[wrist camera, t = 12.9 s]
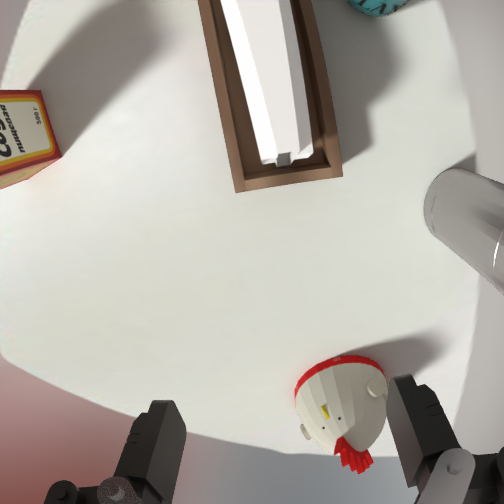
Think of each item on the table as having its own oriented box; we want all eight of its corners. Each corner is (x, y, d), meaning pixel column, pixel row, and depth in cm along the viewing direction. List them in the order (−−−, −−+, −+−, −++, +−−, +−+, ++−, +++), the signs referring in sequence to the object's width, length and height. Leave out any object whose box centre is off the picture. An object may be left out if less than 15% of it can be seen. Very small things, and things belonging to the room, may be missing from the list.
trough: (272, -95, 20) (272, -113, 16) (333, 169, 33) (343, 176, 29) (186, -81, 21) (178, -98, 17) (238, 184, 34) (235, 193, 30)
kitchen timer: (350, 338, 41) (378, 426, 27) (399, 382, 44) (428, 457, 30) (275, 392, 45) (277, 478, 31) (330, 426, 48) (342, 500, 34)
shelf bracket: (256, 170, 32) (245, 159, 20) (221, -22, 28) (201, -87, 16) (309, 162, 32) (331, 146, 19) (266, -29, 27) (262, -97, 15)
